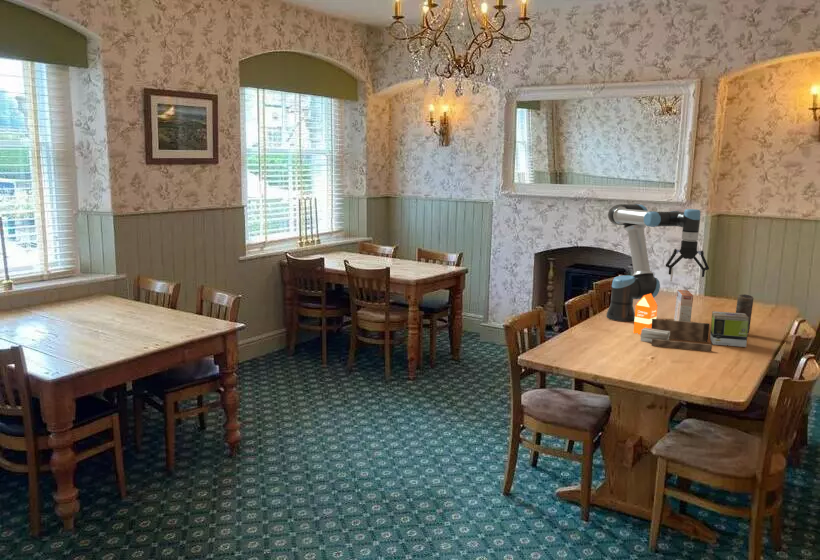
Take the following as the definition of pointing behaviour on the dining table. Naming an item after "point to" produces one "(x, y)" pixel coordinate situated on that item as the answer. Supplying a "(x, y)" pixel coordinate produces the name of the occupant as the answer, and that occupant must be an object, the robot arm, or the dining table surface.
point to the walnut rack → (682, 334)
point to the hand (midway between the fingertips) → (685, 282)
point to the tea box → (729, 329)
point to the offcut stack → (654, 334)
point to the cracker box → (683, 306)
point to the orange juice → (645, 313)
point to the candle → (745, 306)
